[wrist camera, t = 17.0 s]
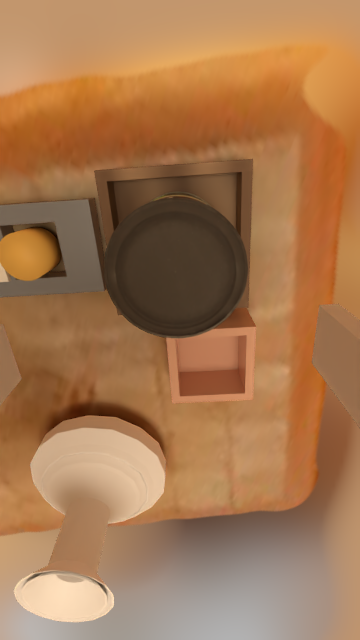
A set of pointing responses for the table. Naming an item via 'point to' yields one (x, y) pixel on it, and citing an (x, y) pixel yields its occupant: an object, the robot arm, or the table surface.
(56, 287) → the base
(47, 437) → the candle holder
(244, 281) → the coffee can
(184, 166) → the dark wooden tray
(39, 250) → the button
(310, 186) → the table surface
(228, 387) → the terracotta square planter
